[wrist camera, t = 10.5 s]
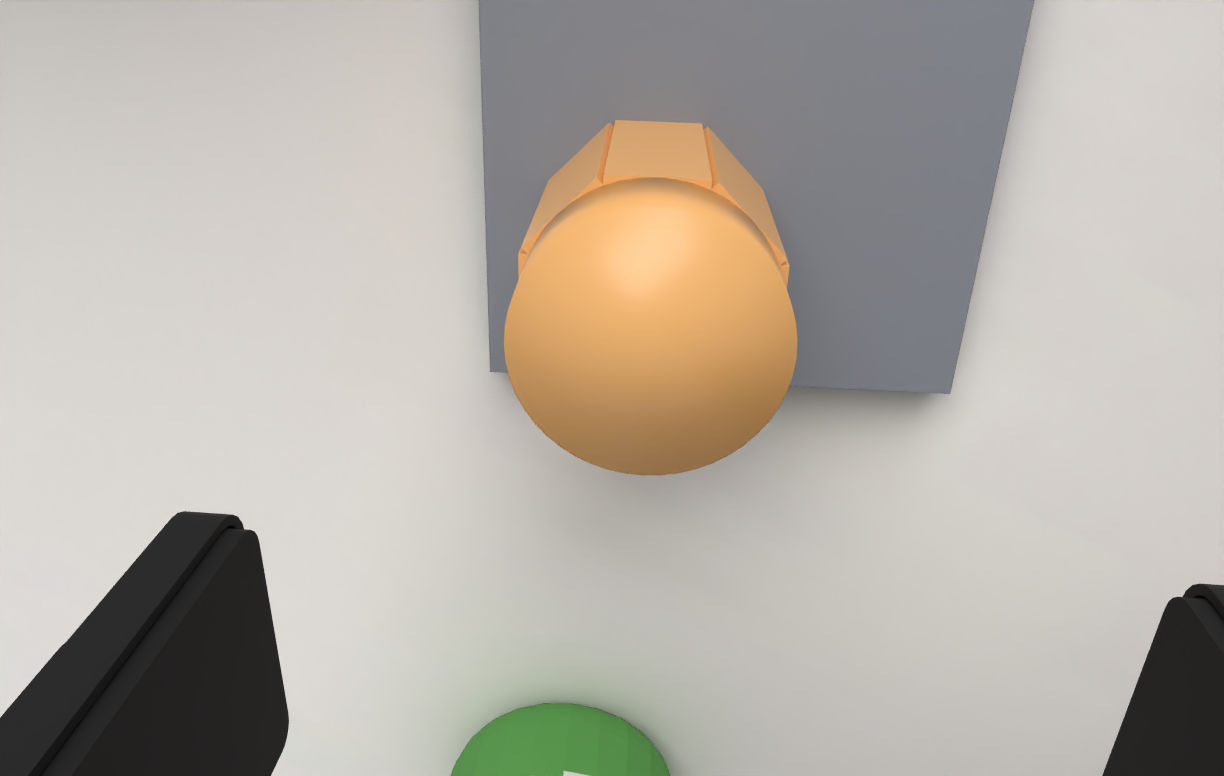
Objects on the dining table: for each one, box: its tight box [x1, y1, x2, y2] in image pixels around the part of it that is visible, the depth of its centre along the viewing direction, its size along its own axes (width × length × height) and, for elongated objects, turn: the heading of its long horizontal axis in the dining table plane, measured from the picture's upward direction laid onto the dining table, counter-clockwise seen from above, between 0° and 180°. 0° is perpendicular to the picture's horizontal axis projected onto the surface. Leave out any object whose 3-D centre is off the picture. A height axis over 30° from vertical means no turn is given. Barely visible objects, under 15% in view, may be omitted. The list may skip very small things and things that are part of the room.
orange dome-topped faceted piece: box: [504, 120, 797, 475], centre depth 20 cm, size 5×5×7 cm
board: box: [479, 0, 1034, 394], centre depth 19 cm, size 12×18×6 cm, turn 178°
